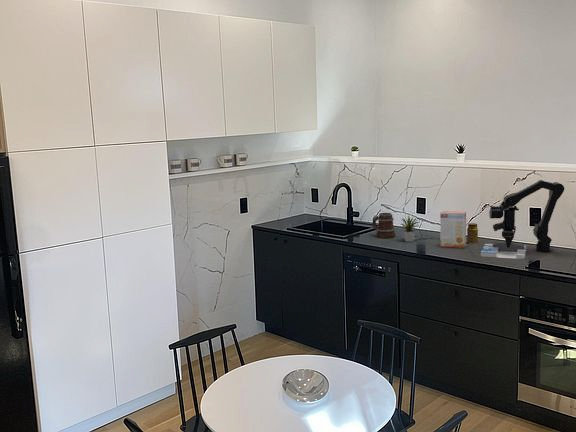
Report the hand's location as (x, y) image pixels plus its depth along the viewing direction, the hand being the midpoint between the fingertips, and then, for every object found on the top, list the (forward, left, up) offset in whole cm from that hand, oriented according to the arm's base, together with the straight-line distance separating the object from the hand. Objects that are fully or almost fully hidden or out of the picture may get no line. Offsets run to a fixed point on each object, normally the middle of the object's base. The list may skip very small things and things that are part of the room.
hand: (508, 245), depth 331 cm
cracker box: (+31, -7, -4) cm, 32 cm away
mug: (+78, -25, -4) cm, 82 cm away
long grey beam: (0, 0, -3) cm, 3 cm away
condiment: (+22, -17, -4) cm, 28 cm away
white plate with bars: (+2, +5, -4) cm, 7 cm away
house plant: (+59, -15, -4) cm, 61 cm away
